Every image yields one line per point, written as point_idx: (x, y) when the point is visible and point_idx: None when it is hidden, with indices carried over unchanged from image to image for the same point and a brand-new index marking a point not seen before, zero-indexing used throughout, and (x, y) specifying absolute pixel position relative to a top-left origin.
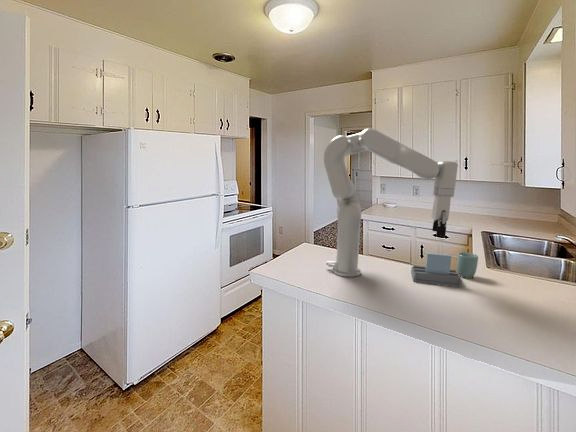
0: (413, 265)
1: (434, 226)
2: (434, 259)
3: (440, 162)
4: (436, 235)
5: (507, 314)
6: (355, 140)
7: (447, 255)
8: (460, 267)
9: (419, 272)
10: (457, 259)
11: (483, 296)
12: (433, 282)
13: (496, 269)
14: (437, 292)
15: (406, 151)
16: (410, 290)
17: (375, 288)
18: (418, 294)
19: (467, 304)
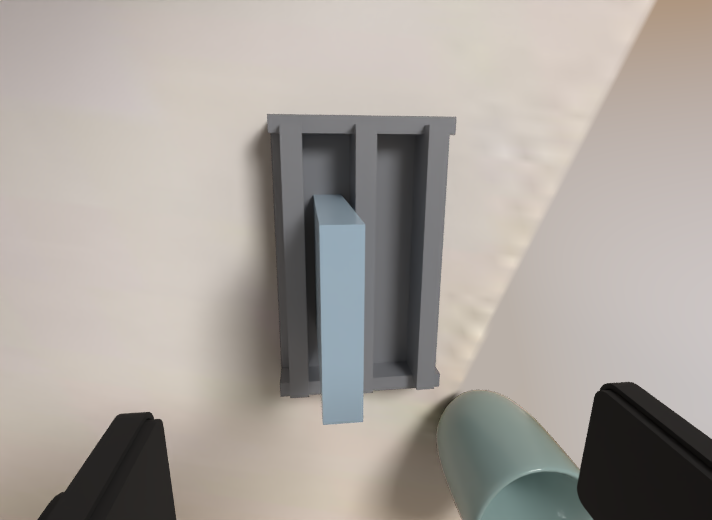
0: (444, 126)
1: (672, 471)
2: (318, 277)
3: None
4: (119, 418)
5: (11, 502)
6: None
7: (330, 396)
8: (465, 423)
9: (288, 153)
10: (524, 435)
11: (198, 450)
12: (276, 239)
13: None
14: (145, 243)
15: None
16: (97, 79)
17: None
18: (50, 125)
19: (40, 366)
